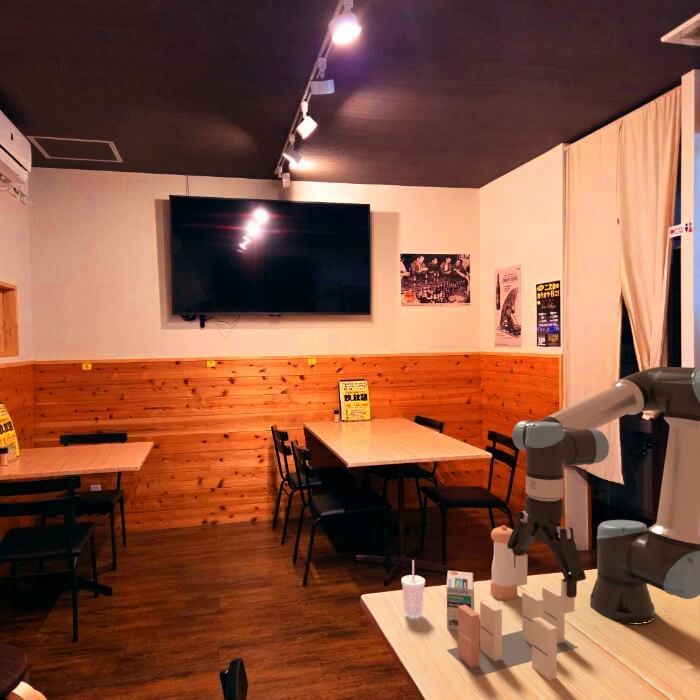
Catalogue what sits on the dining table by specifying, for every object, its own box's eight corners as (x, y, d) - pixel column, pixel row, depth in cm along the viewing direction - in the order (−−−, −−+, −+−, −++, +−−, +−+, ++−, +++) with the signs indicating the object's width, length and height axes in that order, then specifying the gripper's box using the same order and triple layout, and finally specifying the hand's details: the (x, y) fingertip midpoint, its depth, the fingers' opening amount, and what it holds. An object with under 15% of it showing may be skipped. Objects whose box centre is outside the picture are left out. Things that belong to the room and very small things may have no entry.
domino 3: (529, 636, 131) (529, 590, 131) (544, 647, 126) (544, 599, 126) (522, 638, 130) (522, 591, 130) (537, 649, 125) (537, 600, 125)
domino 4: (548, 631, 133) (549, 585, 133) (564, 641, 128) (564, 594, 128) (542, 633, 132) (542, 587, 132) (557, 643, 128) (557, 596, 128)
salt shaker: (519, 591, 156) (519, 523, 156) (515, 602, 150) (515, 531, 149) (493, 586, 159) (493, 520, 159) (488, 597, 153) (488, 528, 152)
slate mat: (543, 627, 136) (543, 625, 136) (577, 649, 126) (577, 647, 126) (446, 652, 125) (446, 649, 125) (476, 679, 115) (476, 676, 115)
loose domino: (539, 667, 119) (539, 616, 119) (556, 680, 115) (556, 627, 114) (531, 670, 118) (531, 618, 118) (548, 683, 114) (549, 629, 114)
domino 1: (465, 653, 124) (465, 604, 123) (479, 665, 119) (479, 614, 119) (457, 655, 123) (457, 606, 123) (471, 667, 118) (471, 616, 118)
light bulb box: (474, 634, 133) (474, 589, 133) (446, 631, 134) (446, 587, 134) (473, 613, 144) (473, 571, 144) (447, 610, 145) (447, 569, 145)
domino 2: (487, 647, 126) (487, 599, 126) (501, 659, 121) (502, 609, 121) (480, 649, 125) (480, 601, 125) (494, 661, 120) (494, 611, 120)
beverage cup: (398, 617, 141) (398, 563, 141) (405, 607, 147) (405, 554, 147) (421, 622, 139) (421, 566, 139) (427, 611, 145) (427, 557, 144)
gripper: (492, 484, 126) (491, 577, 126) (576, 514, 103) (575, 628, 103) (518, 481, 129) (517, 572, 129) (606, 510, 106) (605, 621, 106)
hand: (543, 597), depth 116 cm, fingers open, 13 cm apart
